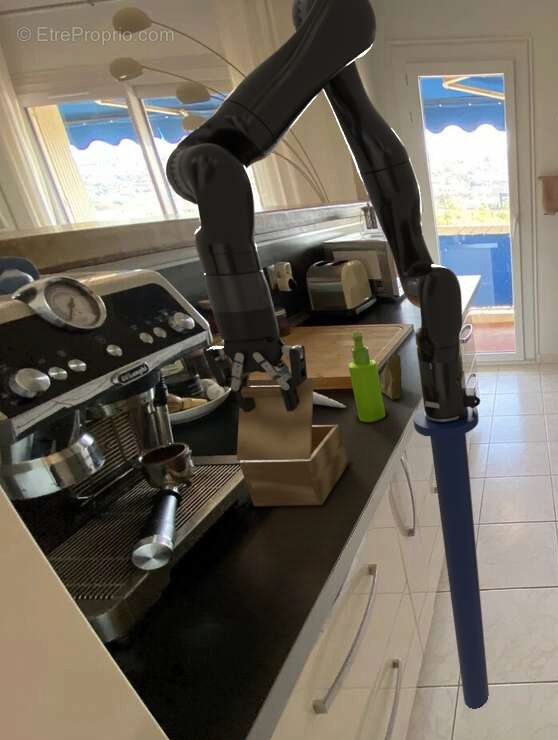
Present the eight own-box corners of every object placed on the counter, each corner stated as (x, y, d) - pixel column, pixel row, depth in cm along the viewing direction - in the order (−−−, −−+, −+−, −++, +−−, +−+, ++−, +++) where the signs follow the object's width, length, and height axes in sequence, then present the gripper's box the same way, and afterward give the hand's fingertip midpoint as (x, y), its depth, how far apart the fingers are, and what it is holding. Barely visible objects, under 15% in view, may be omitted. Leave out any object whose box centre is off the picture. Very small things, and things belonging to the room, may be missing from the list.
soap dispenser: (384, 407, 109) (370, 327, 100) (386, 419, 103) (371, 336, 95) (358, 411, 107) (342, 330, 99) (359, 424, 101) (342, 339, 93)
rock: (409, 392, 111) (419, 372, 119) (383, 368, 107) (395, 350, 116) (380, 414, 115) (391, 393, 123) (354, 391, 111) (368, 372, 120)
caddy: (288, 465, 86) (277, 425, 82) (348, 464, 86) (339, 424, 83) (253, 506, 75) (238, 462, 71) (322, 504, 75) (310, 461, 71)
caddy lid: (243, 380, 73) (223, 375, 68) (313, 379, 73) (298, 373, 68) (239, 460, 71) (218, 460, 67) (311, 458, 72) (295, 459, 67)
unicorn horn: (334, 415, 105) (330, 396, 103) (267, 398, 115) (262, 381, 113) (349, 407, 109) (345, 389, 107) (283, 391, 119) (279, 374, 117)
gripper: (304, 298, 67) (326, 399, 74) (208, 299, 67) (239, 400, 74) (280, 309, 61) (306, 419, 67) (173, 310, 60) (210, 421, 67)
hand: (271, 409), depth 71 cm, fingers closed on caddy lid, 6 cm apart
